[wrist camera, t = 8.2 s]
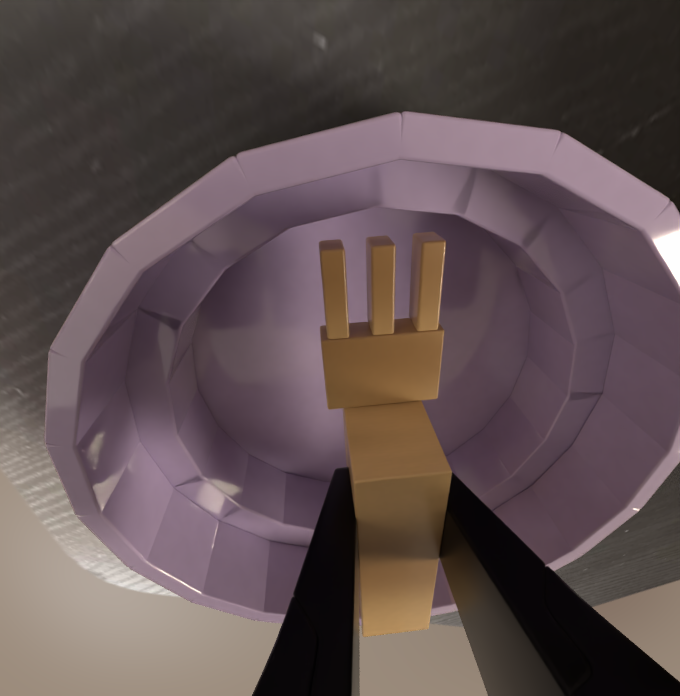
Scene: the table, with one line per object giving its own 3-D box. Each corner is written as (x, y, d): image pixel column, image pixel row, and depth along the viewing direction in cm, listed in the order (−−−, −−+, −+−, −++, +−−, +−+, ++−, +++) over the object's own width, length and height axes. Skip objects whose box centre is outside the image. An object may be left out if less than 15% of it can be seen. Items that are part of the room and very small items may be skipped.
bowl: (72, 389, 13) (-59, 531, 8) (350, -39, 8) (412, -283, 3) (368, 530, 19) (388, 659, 14) (636, 335, 14) (804, 438, 9)
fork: (416, 532, 13) (442, 627, 11) (341, 541, 13) (349, 639, 11) (442, 230, 8) (510, 278, 5) (311, 240, 8) (313, 295, 5)
